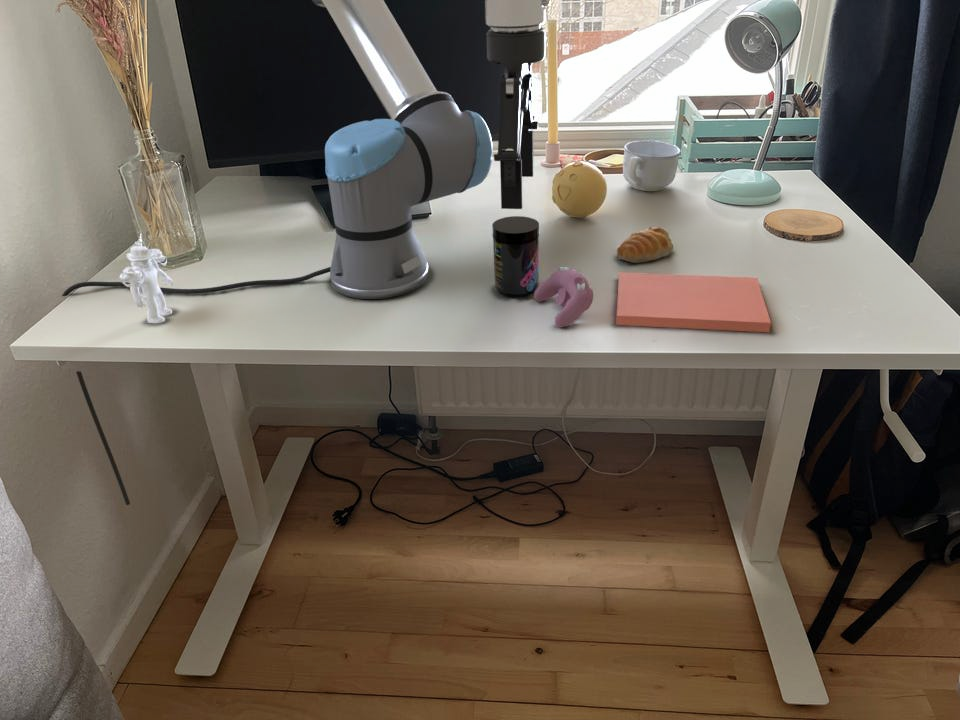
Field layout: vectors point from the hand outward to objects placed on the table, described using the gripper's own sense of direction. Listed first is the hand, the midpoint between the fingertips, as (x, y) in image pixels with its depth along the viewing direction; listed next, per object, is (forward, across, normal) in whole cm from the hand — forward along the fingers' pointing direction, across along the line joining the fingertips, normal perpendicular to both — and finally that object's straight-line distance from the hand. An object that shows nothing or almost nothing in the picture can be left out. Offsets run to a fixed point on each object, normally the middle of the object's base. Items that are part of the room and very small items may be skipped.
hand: (518, 191), depth 106 cm
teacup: (+16, +48, -19) cm, 54 cm away
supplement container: (+15, 0, 0) cm, 15 cm away
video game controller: (+15, -7, -7) cm, 18 cm away
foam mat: (+15, -3, -25) cm, 29 cm away
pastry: (+15, +14, -19) cm, 28 cm away
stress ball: (+16, +32, -7) cm, 36 cm away
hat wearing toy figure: (+16, -14, +52) cm, 56 cm away
